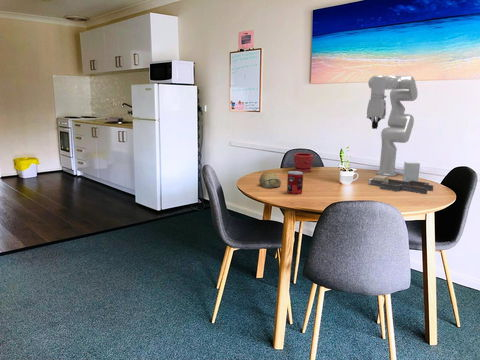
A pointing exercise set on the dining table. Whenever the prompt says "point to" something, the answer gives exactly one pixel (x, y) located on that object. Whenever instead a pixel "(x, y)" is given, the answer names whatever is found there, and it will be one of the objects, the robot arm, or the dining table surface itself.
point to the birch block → (381, 178)
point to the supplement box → (411, 171)
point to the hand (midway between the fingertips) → (374, 128)
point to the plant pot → (303, 161)
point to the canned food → (295, 182)
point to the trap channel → (402, 185)
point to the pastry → (269, 180)
